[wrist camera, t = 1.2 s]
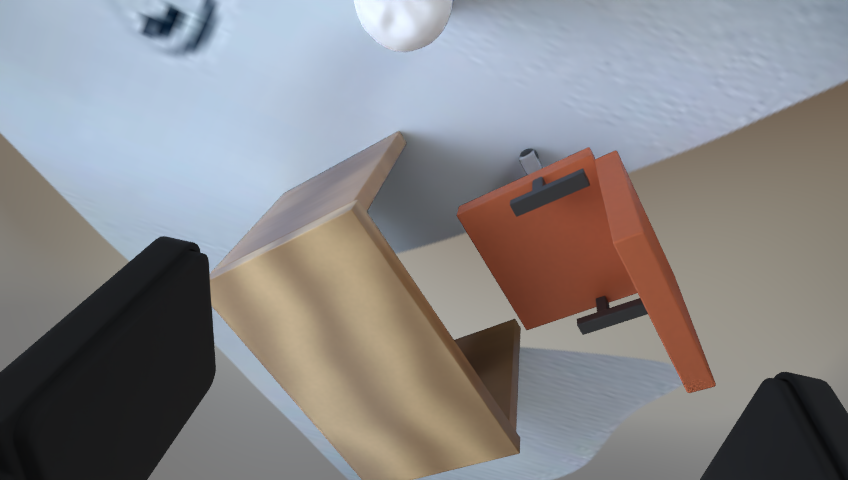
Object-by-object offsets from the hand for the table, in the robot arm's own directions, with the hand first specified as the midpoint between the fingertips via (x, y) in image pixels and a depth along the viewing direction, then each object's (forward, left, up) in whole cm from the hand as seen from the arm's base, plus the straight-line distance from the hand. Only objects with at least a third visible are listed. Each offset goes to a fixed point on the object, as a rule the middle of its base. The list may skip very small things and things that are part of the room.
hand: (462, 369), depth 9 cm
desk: (+14, +10, -28) cm, 33 cm away
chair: (+2, +10, -28) cm, 30 cm away
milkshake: (+3, -6, -28) cm, 29 cm away
